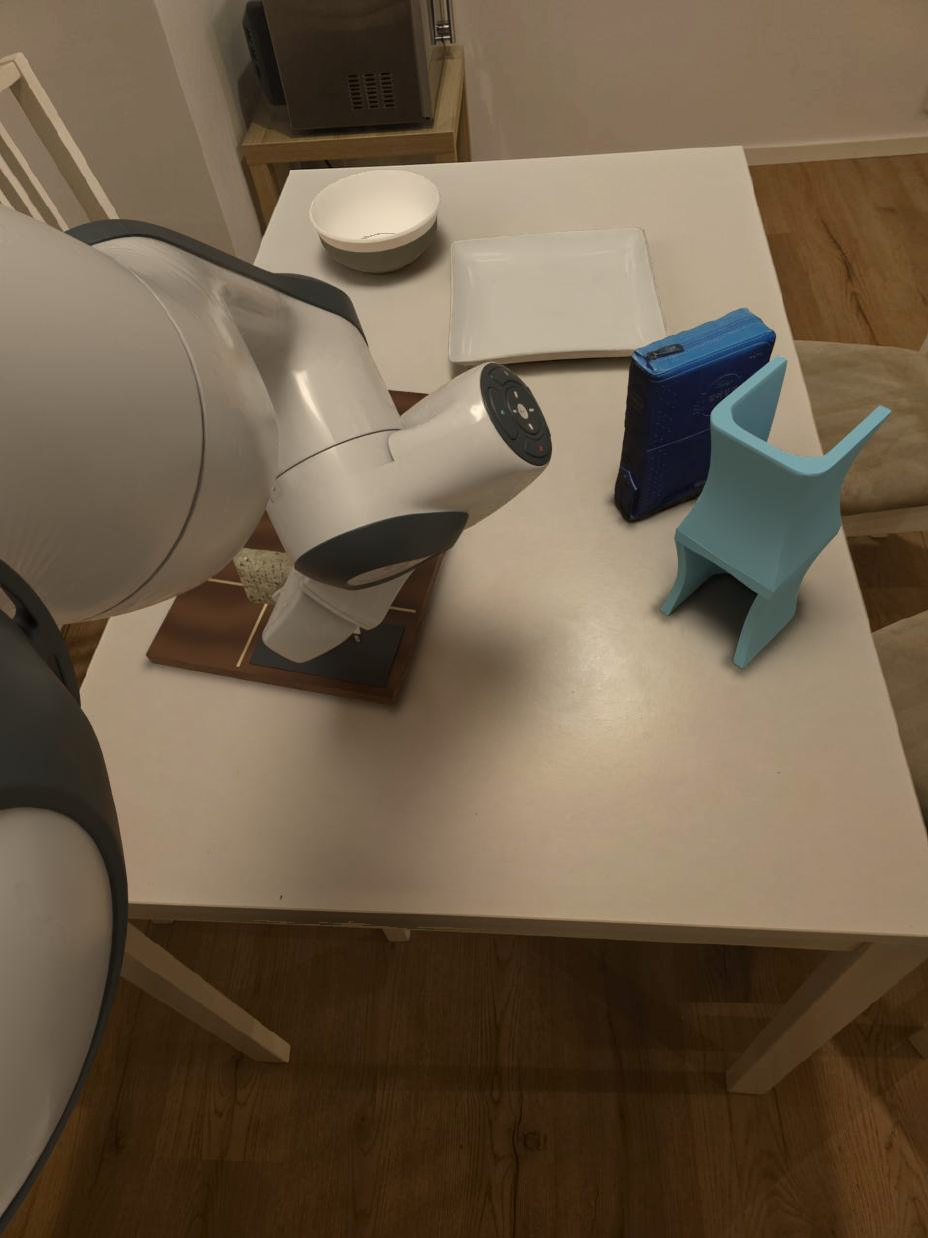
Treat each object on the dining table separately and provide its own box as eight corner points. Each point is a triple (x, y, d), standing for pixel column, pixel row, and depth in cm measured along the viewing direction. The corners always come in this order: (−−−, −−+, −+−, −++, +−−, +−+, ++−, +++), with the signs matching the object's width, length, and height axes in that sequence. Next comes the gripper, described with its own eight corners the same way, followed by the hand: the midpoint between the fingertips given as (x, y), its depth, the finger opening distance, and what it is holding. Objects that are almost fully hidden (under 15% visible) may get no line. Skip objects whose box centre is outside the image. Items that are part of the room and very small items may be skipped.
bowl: (467, 234, 121) (463, 179, 115) (408, 306, 112) (400, 251, 106) (361, 213, 127) (351, 159, 120) (297, 280, 118) (282, 226, 112)
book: (630, 530, 87) (650, 380, 70) (604, 498, 89) (617, 346, 73) (742, 482, 89) (787, 325, 73) (714, 452, 92) (751, 295, 76)
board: (394, 706, 77) (391, 698, 75) (151, 662, 82) (144, 653, 81) (490, 409, 99) (489, 398, 98) (294, 389, 104) (291, 378, 103)
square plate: (668, 370, 100) (672, 344, 97) (449, 385, 102) (446, 359, 99) (642, 247, 116) (644, 221, 113) (452, 261, 118) (449, 236, 114)
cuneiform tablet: (362, 644, 71) (239, 624, 74) (378, 606, 74) (259, 588, 77) (348, 590, 66) (215, 570, 68) (365, 551, 69) (237, 534, 71)
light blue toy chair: (803, 607, 79) (894, 410, 59) (742, 669, 76) (816, 483, 55) (720, 554, 84) (778, 353, 63) (659, 610, 80) (698, 417, 60)
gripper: (385, 393, 64) (302, 468, 74) (297, 598, 54) (214, 653, 64) (445, 441, 67) (357, 506, 77) (373, 645, 56) (281, 690, 66)
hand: (292, 574), depth 70 cm, fingers closed on cuneiform tablet, 4 cm apart
